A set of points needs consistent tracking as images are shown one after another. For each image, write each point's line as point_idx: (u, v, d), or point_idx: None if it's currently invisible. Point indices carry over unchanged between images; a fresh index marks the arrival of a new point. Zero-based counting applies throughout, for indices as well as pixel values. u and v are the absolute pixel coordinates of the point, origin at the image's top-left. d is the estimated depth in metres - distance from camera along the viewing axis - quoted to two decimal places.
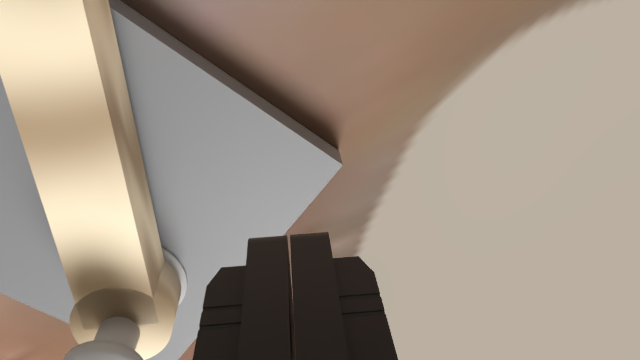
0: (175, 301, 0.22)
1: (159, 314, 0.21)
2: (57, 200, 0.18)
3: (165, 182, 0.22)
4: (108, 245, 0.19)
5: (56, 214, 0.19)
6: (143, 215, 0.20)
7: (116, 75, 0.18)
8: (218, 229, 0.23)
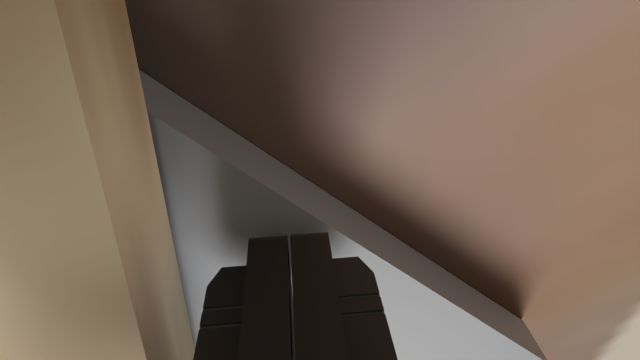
0: None
1: None
2: None
3: None
4: None
5: None
6: None
7: (160, 261, 0.09)
8: None
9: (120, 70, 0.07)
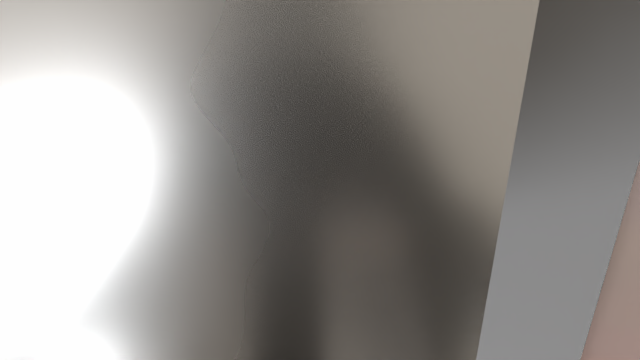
0: None
1: None
2: None
3: None
4: None
5: None
6: None
7: None
8: None
9: None
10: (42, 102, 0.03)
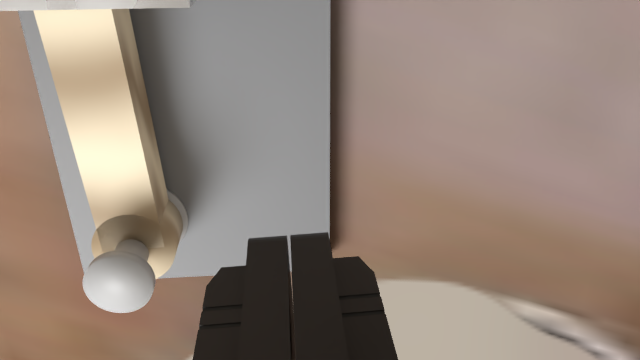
0: (177, 231, 0.27)
1: (164, 239, 0.26)
2: (83, 138, 0.23)
3: (238, 189, 0.28)
4: (123, 177, 0.24)
5: (82, 151, 0.23)
6: (151, 155, 0.25)
7: (129, 39, 0.23)
8: (229, 238, 0.29)
9: None
10: None
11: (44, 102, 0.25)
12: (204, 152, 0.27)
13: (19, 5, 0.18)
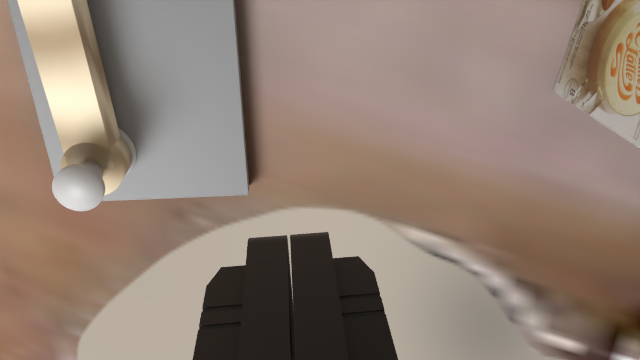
0: (126, 159, 0.36)
1: (114, 161, 0.35)
2: (52, 84, 0.32)
3: (173, 129, 0.37)
4: (82, 114, 0.33)
5: (51, 93, 0.33)
6: (103, 99, 0.34)
7: (84, 12, 0.32)
8: (169, 168, 0.39)
9: None
10: None
11: (25, 61, 0.35)
12: (145, 100, 0.36)
13: None
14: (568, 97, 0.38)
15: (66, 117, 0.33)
